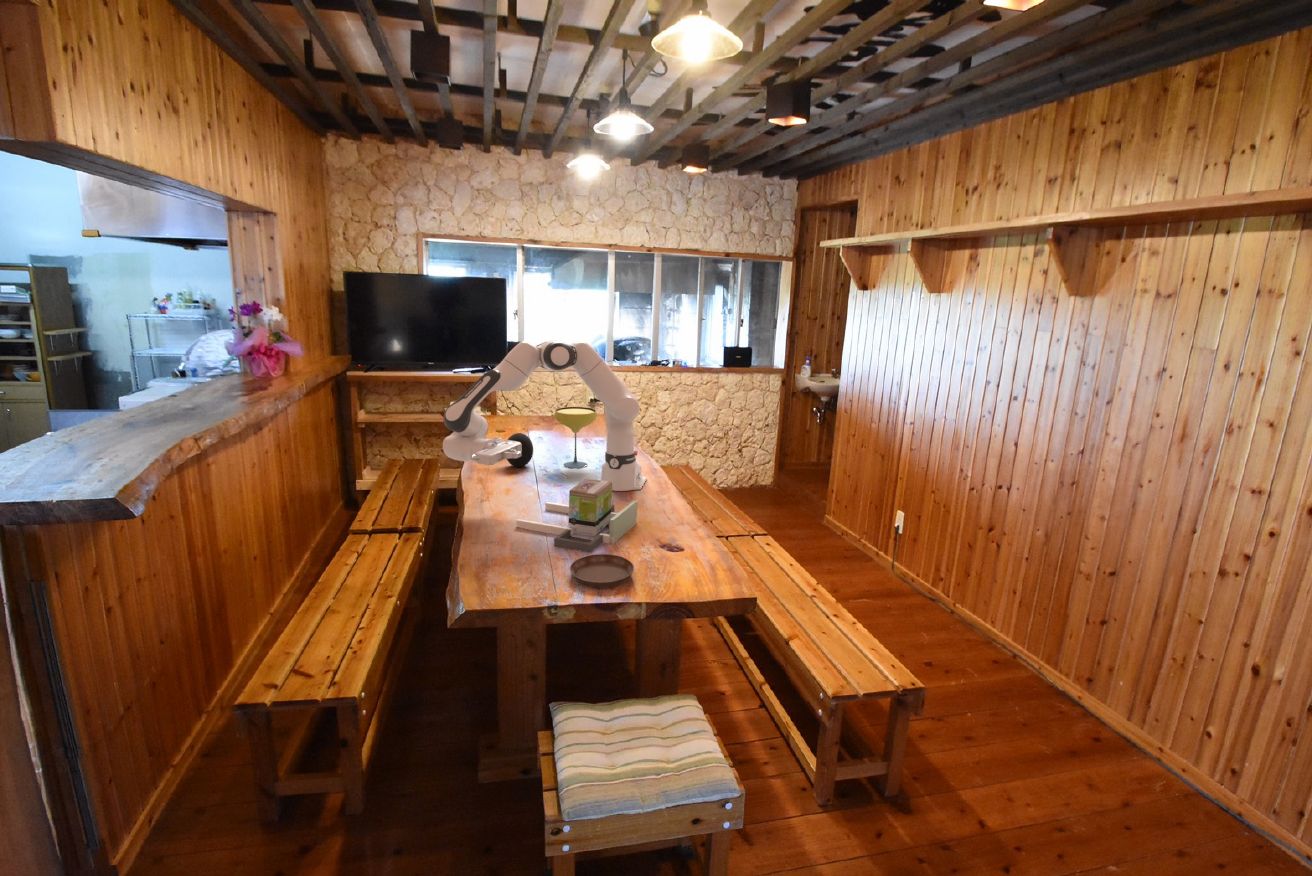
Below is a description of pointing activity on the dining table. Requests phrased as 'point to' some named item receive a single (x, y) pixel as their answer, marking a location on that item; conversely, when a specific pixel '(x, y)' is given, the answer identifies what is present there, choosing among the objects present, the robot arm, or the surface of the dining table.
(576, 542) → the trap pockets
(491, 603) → the dining table surface
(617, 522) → the channel
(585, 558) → the plant saucer
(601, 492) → the tea box
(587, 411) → the cocktail glass
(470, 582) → the dining table surface
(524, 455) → the decorative egg
